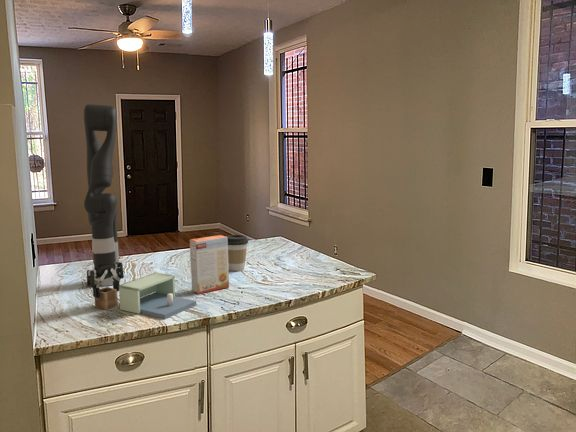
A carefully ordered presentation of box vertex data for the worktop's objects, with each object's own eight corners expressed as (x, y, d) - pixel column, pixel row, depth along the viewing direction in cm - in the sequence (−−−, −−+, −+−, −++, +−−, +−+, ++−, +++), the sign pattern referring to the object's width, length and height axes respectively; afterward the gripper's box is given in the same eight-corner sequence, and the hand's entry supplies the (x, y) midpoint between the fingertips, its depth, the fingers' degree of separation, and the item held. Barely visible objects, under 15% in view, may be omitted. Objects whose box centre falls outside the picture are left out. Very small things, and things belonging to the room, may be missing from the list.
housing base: (122, 308, 178) (121, 293, 177) (155, 296, 192) (154, 282, 191) (165, 319, 168) (164, 303, 168) (196, 304, 182) (195, 290, 181)
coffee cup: (250, 266, 234) (250, 234, 231) (246, 272, 223) (246, 239, 220) (226, 265, 235) (226, 233, 233) (221, 272, 224) (220, 239, 221)
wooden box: (95, 307, 180) (94, 291, 179) (107, 302, 184) (106, 287, 183) (105, 310, 177) (104, 293, 176) (117, 305, 182) (116, 289, 181)
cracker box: (222, 284, 207) (220, 234, 203) (229, 287, 202) (228, 236, 198) (190, 290, 198) (189, 238, 195) (197, 294, 194) (196, 241, 190)
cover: (120, 309, 177) (118, 285, 176) (157, 294, 193) (156, 272, 191) (138, 313, 173) (137, 289, 171) (175, 298, 188) (174, 275, 187)
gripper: (112, 245, 185) (115, 288, 188) (79, 253, 173) (83, 298, 175) (127, 247, 182) (129, 290, 184) (94, 255, 169) (98, 301, 172)
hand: (106, 294), depth 180 cm, fingers open, 8 cm apart
